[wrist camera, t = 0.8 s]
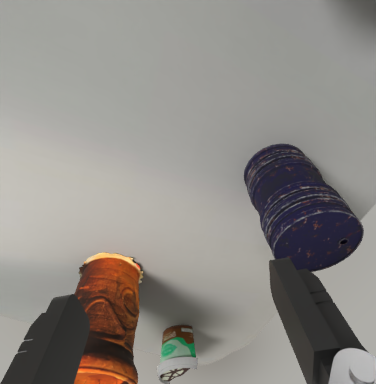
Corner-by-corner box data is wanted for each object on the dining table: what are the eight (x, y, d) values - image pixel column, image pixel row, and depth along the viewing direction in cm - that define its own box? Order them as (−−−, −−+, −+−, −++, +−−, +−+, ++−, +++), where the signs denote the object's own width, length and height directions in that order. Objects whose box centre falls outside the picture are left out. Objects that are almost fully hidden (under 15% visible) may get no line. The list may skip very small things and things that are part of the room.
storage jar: (242, 200, 44) (268, 276, 32) (243, 147, 38) (275, 216, 26) (302, 193, 44) (351, 267, 32) (312, 139, 38) (377, 205, 26)
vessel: (162, 283, 56) (154, 398, 40) (106, 300, 60) (78, 412, 44) (125, 242, 48) (97, 363, 32) (63, 263, 52) (10, 383, 36)
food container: (175, 317, 65) (175, 362, 57) (195, 324, 67) (198, 368, 59) (149, 338, 71) (146, 381, 63) (168, 343, 73) (168, 386, 65)
